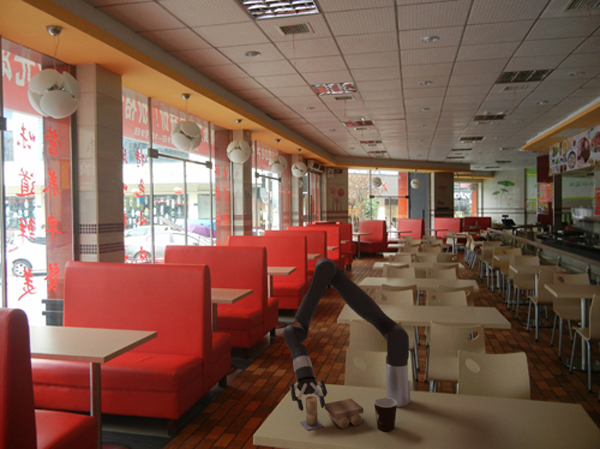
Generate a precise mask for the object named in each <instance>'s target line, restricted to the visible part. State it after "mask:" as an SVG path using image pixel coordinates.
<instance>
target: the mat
mask: <svg viewBox="0 0 600 449" xmlns="http://www.w3.org/2000/svg"><path fill="white" fill-rule="evenodd" d="M300 424H301V425H302V427H304V429H305V430H306V431H312V430H317V429H320V428H324V427H325V425H324V424H323V423H322V422H320V420H319V419H318V424H317V425H316V426H308V425H307V424H306V420H304V421H303V420H302V421H300Z"/></svg>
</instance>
